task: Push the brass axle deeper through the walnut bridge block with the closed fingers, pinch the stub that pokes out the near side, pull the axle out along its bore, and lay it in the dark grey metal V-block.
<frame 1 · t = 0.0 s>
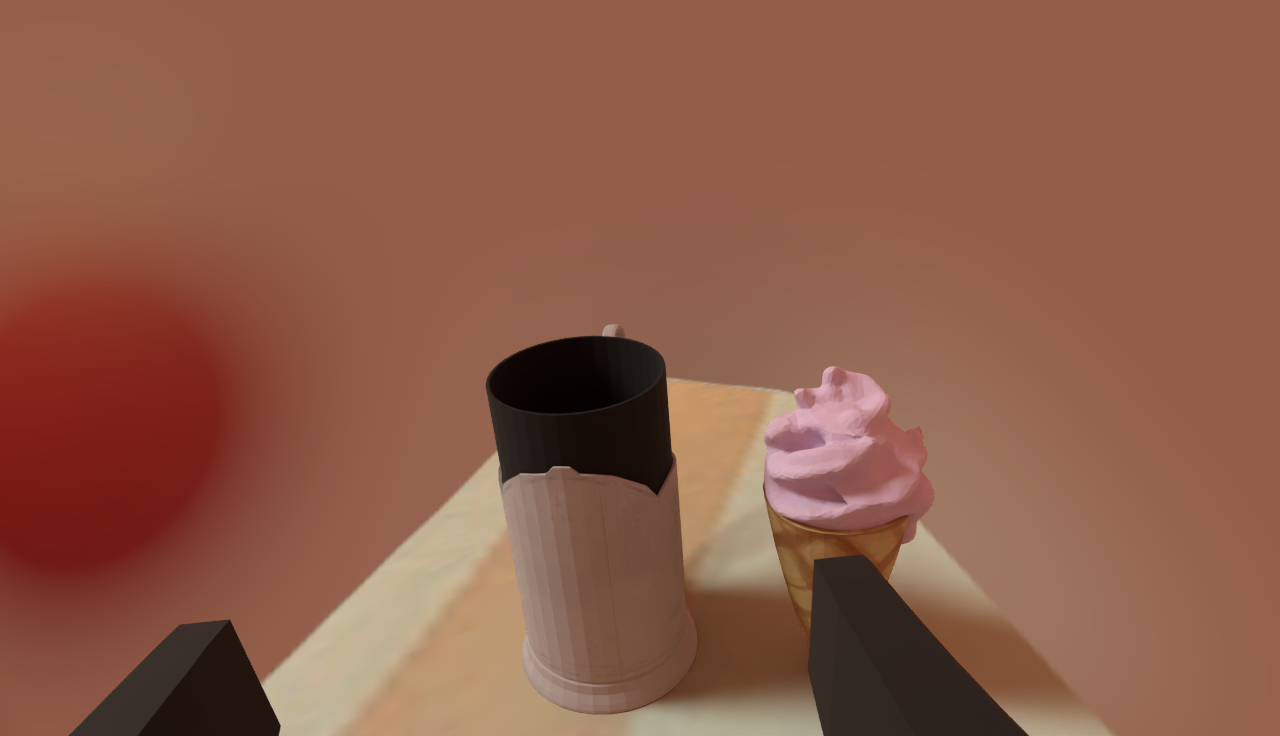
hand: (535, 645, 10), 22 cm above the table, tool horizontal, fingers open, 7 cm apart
glass holder: (619, 606, 42), on the table
ice cream cone: (838, 673, 37), on the table
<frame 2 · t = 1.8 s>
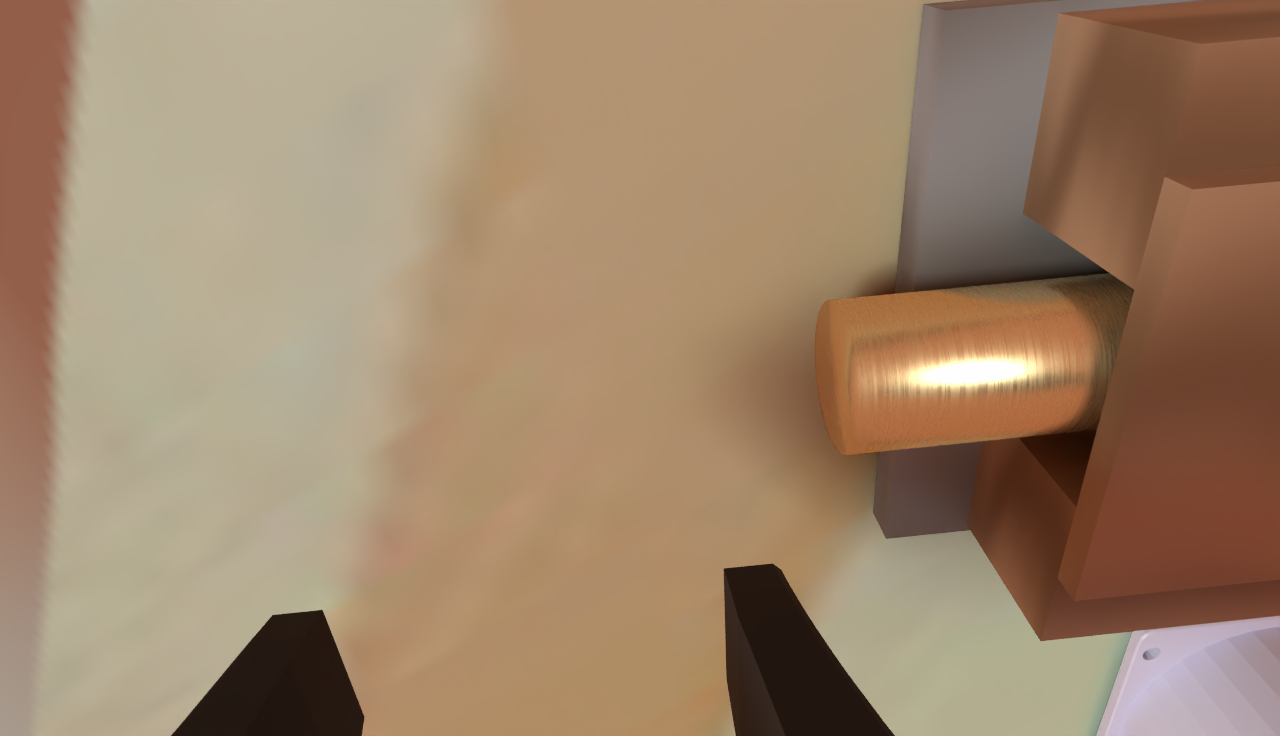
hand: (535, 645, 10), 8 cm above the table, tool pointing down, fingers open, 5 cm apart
axle: (1145, 300, 17), point 1 cm above the table, tilted 8°, touching bridge block
bridge block: (1227, 270, 18), on the table
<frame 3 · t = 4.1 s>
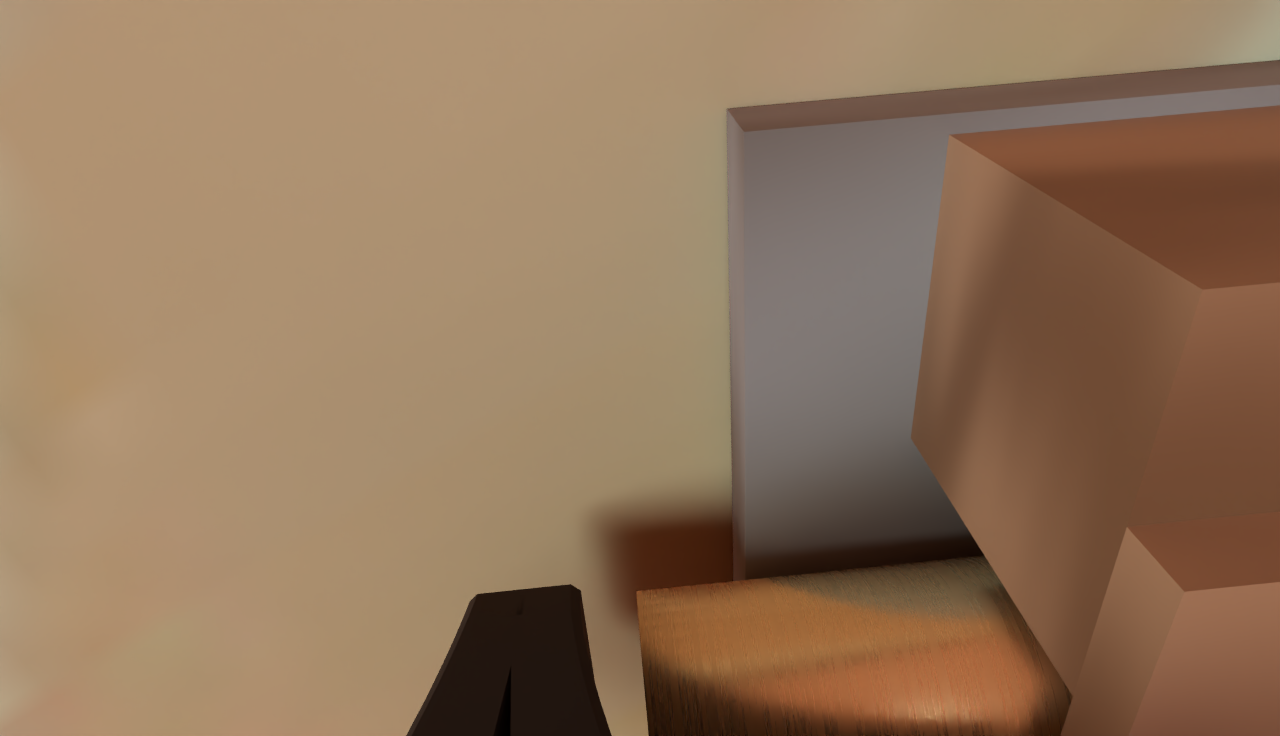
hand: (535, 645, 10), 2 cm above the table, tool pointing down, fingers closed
axle: (1157, 549, 11), point 1 cm above the table, tilted 18°, touching bridge block, gripper
bridge block: (1241, 484, 12), on the table
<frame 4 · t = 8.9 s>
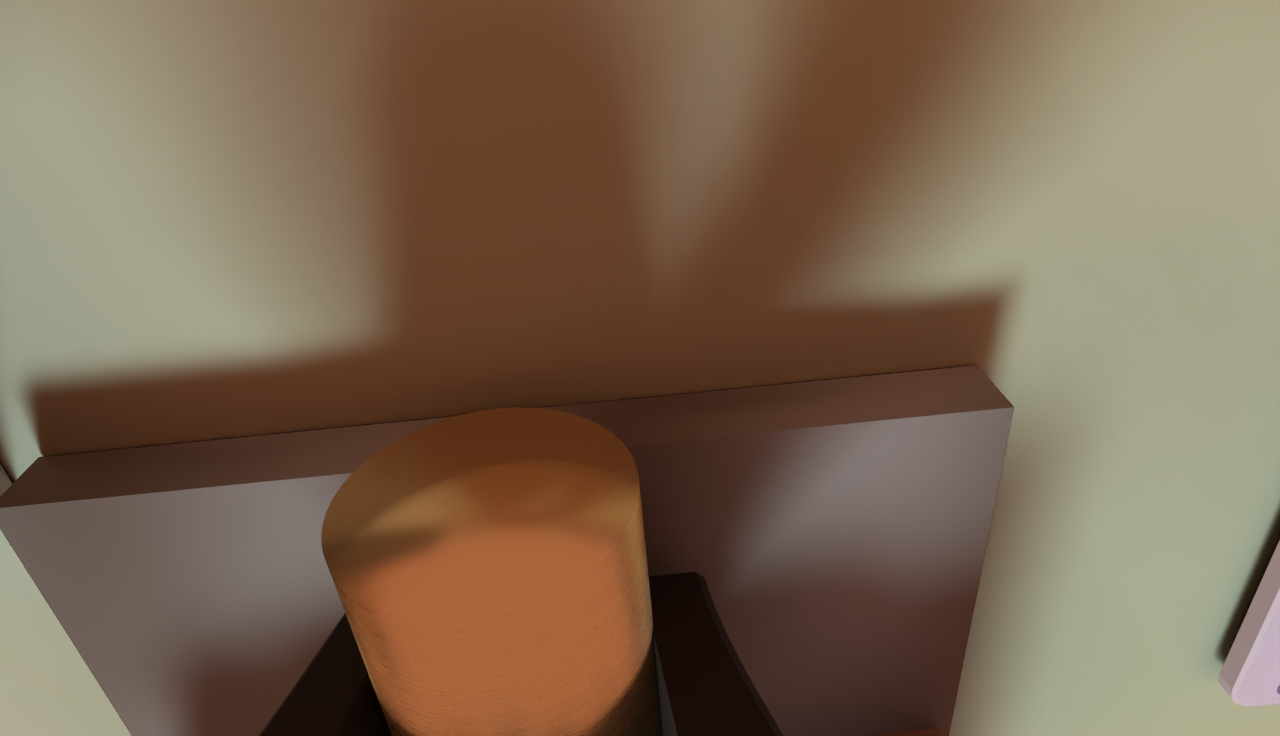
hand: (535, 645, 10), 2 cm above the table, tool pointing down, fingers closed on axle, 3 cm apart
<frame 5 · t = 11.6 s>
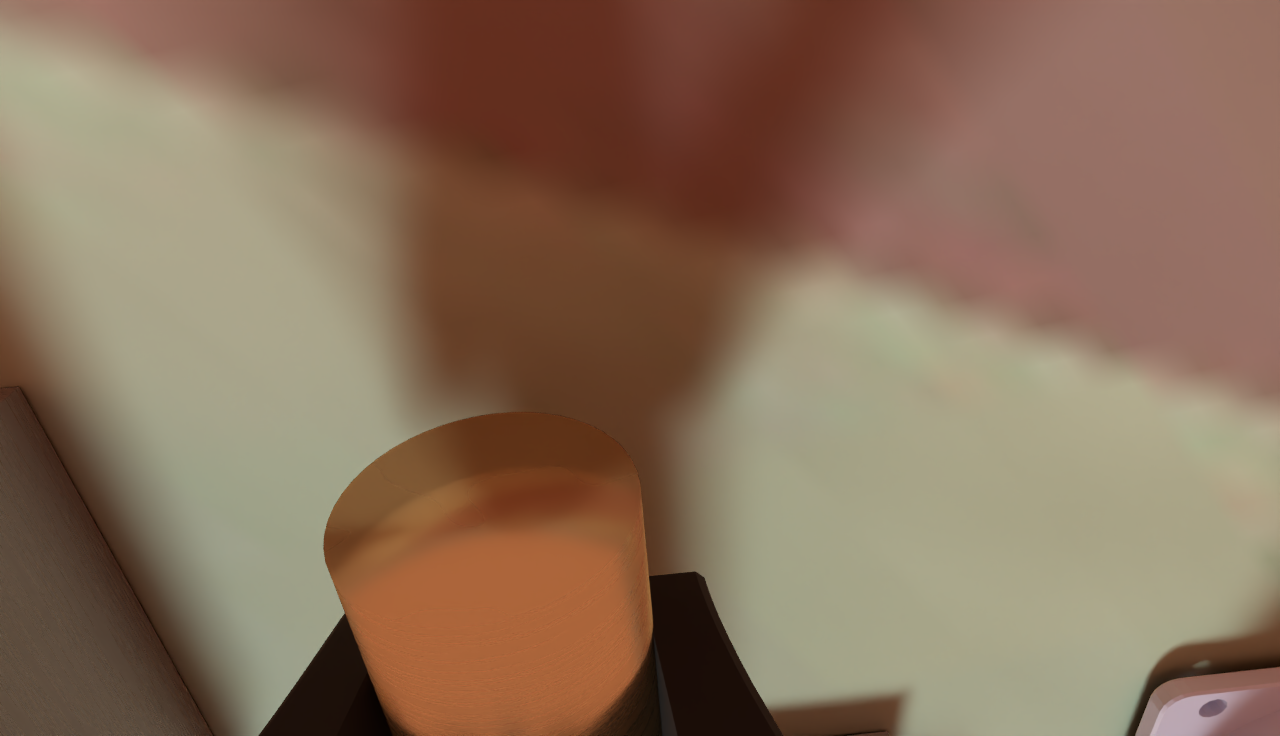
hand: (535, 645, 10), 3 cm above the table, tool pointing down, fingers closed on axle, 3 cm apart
when the fingers open (4 cm above the table, at t = 14.6 s): axle stays where it is, resting on v block.
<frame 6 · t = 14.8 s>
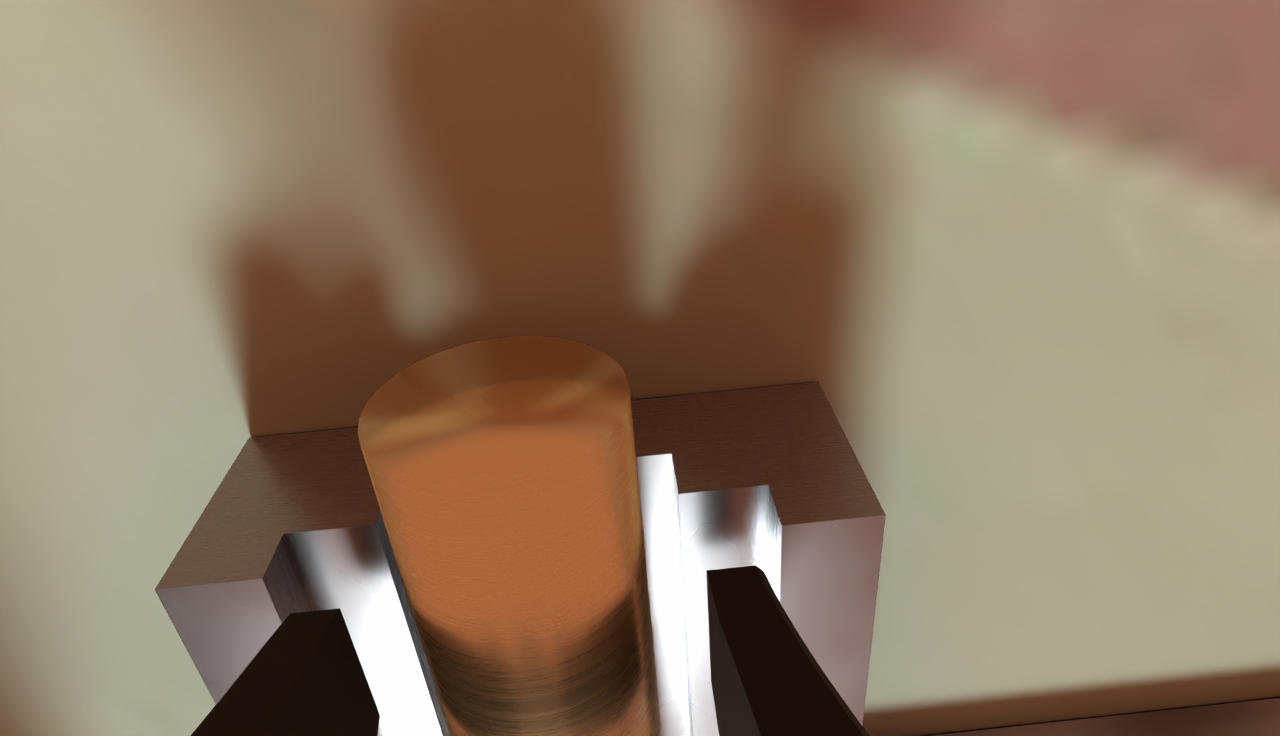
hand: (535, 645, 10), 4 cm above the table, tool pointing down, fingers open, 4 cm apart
v block: (572, 629, 15), on the table
axle: (570, 692, 14), point 1 cm above the table, touching v block
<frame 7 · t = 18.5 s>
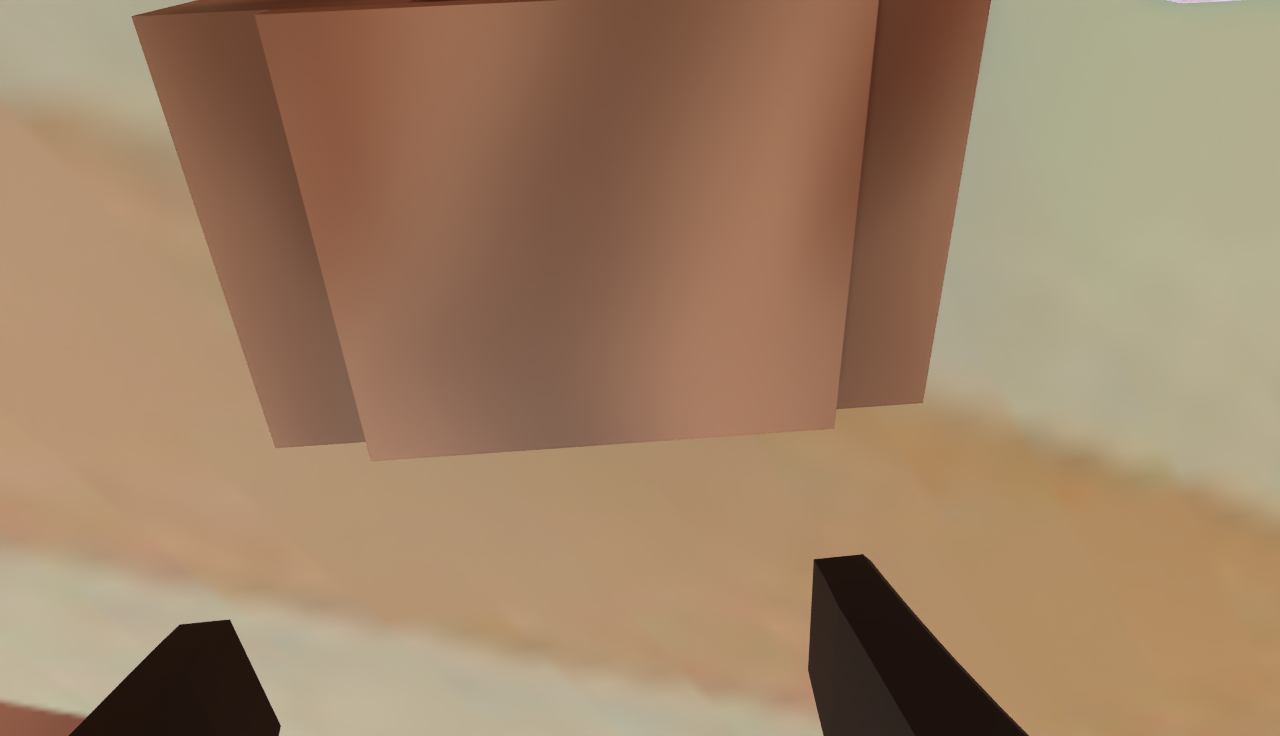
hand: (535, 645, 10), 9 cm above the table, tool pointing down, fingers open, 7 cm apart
bridge block: (580, 57, 15), on the table
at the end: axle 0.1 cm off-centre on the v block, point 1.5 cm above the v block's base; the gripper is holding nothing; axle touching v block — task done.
